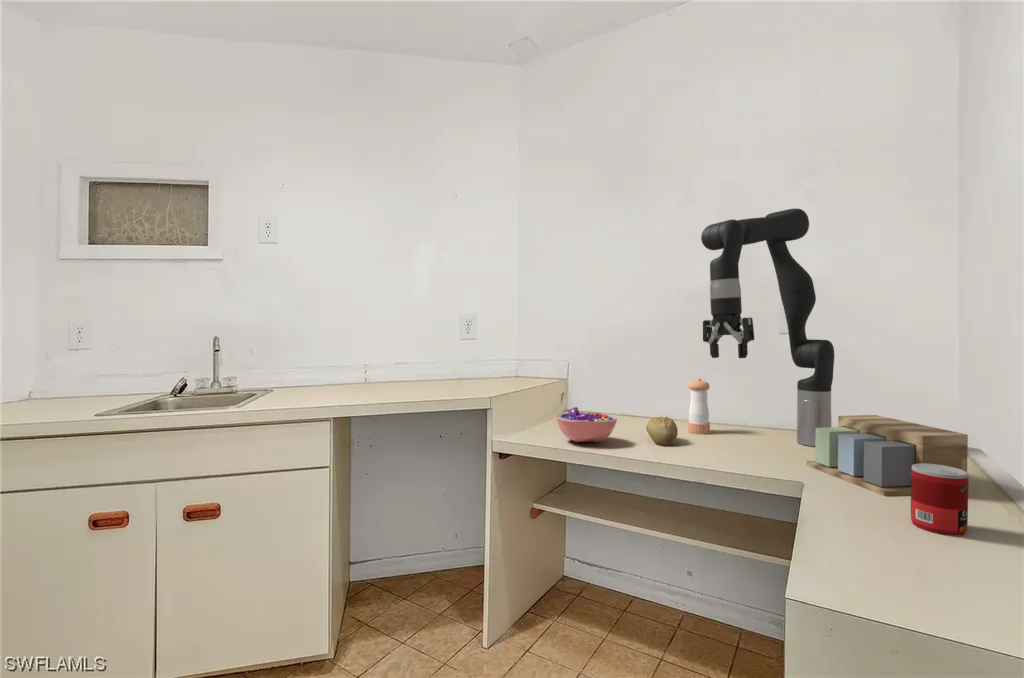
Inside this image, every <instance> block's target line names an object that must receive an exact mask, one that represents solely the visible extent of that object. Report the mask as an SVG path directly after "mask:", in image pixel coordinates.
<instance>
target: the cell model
mask: <svg viewBox="0 0 1024 678" xmlns="http://www.w3.org/2000/svg"><path fill="white" fill-rule="evenodd" d="M555 419H556V422H557V425H558V428H559V430H560V431H561V433H562V434H563V435H564V437H565V438H567V439H569V440H570V441H572V442H575V443H600V442H603V441H604V440H605V439H607V438H608V437H610V435H611V434H612V432H613V431H614V429H615V427H616V424H617V421H618V418H616V417H614V416H610V415H607V414H604V413H600V412H580V411H579V408H578V407H577V406H574V407H571V408H570V409H569V410H568V412H567V413H560V414H558V415H556V416H555Z"/></svg>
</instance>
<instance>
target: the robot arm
mask: <svg viewBox="0 0 1024 678" xmlns="http://www.w3.org/2000/svg"><path fill="white" fill-rule="evenodd" d="M809 228H810V221H809V216H808V214H807V213H806V211H804V210H803V209H801V208H788V209H784V210H779V211H775V212H771V213H768V214H767V215H765V216H763V217H752V218H743V219H728V220H724V221H720V222H715V223H712V224H709V225H708V226H706V227H705V228H704V229H703V230H702V233H701V236H700V241H701V244H702V245H703V246H704V247H705V249H708V250H709V251H719V250H722V252H721V255H720V256H718V257H716V258H714V259H712V260H711V261H710V263H709V276H710V277H709V278H710V280H709V281H710V286H709V300H710V315H711V316H712V320H711V319H705V320H703V321H702V341H703V342H704V343H708V344H709V354H710V356H711V358H713V359H717V358H719V357H720V351H719V348H720V347H719V343H718V342H719V341H720V340H721V338H722V337H724V336H732V337H733V338H734V339H735V340H736V341H737V353H738V354H737V355H738V358H739V359H746V358H747V356H748V354H749V353H748V351H749V350H748V344H749V342H751V341H752V342H753V341H755V331H754V320H753V318H752V317H750V316H749V317H741V315H742V313H743V312H742V310H743V308H742V291H741V290H742V289H741V283H740V272H739V271H740V270H739V269H740V268H739V263H740V257H741V253H742V249H743V246H746V245H751V244H752V245H754V244H757V243H760V242H761V243H762V242H766V245H767V249H768V250H769V253H770V257H771V259H772V264H773V266H774V271H775V274H776V279H777V284H778V291H779V294H780V295H779V296H780V298H781V303H782V306H783V311H784V316H785V319H786V320H785V321H786V324H787V332H788V340H789V341H788V342H789V349H790V355H791V359H792V362H793V363H794V365H795V366H796V367H798V368H802V369H803V368H804V369H814V372H813V375H811V376H809V377H807V378H806V377H805V378H801V379H799V380H798V381H797V385H796V386H797V390H796V391H797V393H796V398H797V399H796V400H797V402H796V403H797V406H796V407H797V408H796V412H797V413H796V443H797V442H798V444H800V445H803V446H804V445H805V446H809V447H815V438H816V428H832V384H833V381H834V369H835V368H834V366H835V365H834V364H835V347H834V345H833V343H832V342H831V341H830V340H828V339H811V338H810V339H808V337H807V334H806V324H807V321H808V318H809V317H810V315H811V313H812V310H813V309H814V307H815V304H816V301H817V297H816V291H815V286H814V281H813V279H812V276H811V275H810V273H808V271H806V269H805V268H804V267H803V266H801V264H800V263H798V262H797V260H795V258H794V257H793V256H792V255H791V252H790V251H789V248H788V246H787V242H791V241H792V242H793V241H796V240H799V239H801V238H803V237H805V236H806V234H807V233H808V232H809ZM741 326H742V328H741Z"/></svg>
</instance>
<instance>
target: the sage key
mask: <svg viewBox="0 0 1024 678" xmlns="http://www.w3.org/2000/svg"><path fill="white" fill-rule="evenodd" d="M838 434H860V430H857V429H853V428H849V427H838V426H837V427H836V426H835V427H831V428H816V438H815V446H814V447H815V451H814V455H815V456H814V457H815V459H814V461H815V462H818V463H820V464H823V465H826V466H828V467H838Z"/></svg>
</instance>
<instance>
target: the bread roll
mask: <svg viewBox="0 0 1024 678" xmlns="http://www.w3.org/2000/svg"><path fill="white" fill-rule="evenodd" d="M645 430H646V432H647V433H648V435H649V437H650V439H652V441H653V442H654V443H655V444H657V445H659V446H664V447H665V446H669V445H672V444H673V443H674V442H675V441H676V439H677V437H678V433H679V432H678V426H677V424H676V422H675V421H674V419H672V418H671V417H668V416H665V417H663V416H658V417H652V418H651V419H650V420H648V422H647V423H646V427H645Z"/></svg>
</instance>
